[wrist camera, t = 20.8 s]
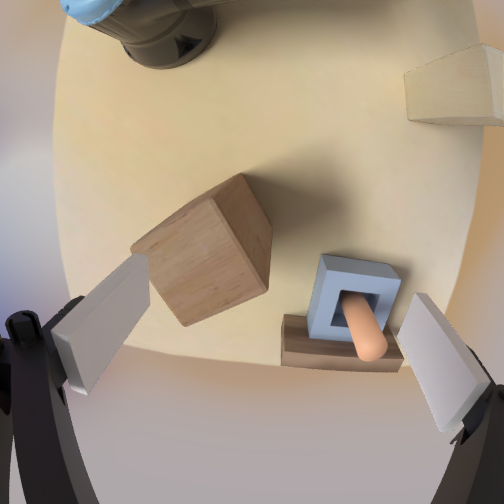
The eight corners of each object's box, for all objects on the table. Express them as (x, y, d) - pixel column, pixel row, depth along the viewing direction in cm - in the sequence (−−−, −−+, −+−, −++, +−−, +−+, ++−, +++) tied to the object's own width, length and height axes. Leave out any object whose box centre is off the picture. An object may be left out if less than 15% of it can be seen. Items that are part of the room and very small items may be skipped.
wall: (284, 314, 50) (284, 351, 41) (387, 325, 50) (404, 359, 40) (281, 328, 52) (280, 365, 42) (382, 337, 51) (397, 372, 42)
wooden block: (273, 229, 45) (270, 292, 27) (218, 257, 48) (183, 329, 29) (241, 171, 42) (212, 195, 24) (186, 203, 45) (126, 248, 26)
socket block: (321, 254, 46) (326, 269, 40) (388, 264, 45) (401, 280, 40) (306, 317, 50) (309, 338, 45) (369, 323, 50) (377, 343, 44)
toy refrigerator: (445, 126, 36) (534, 130, 17) (407, 121, 37) (492, 116, 17) (441, 80, 33) (526, 61, 14) (403, 73, 34) (481, 40, 15)
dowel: (342, 283, 45) (363, 336, 32) (364, 286, 45) (392, 337, 32) (336, 304, 47) (353, 360, 34) (358, 307, 47) (381, 362, 33)
